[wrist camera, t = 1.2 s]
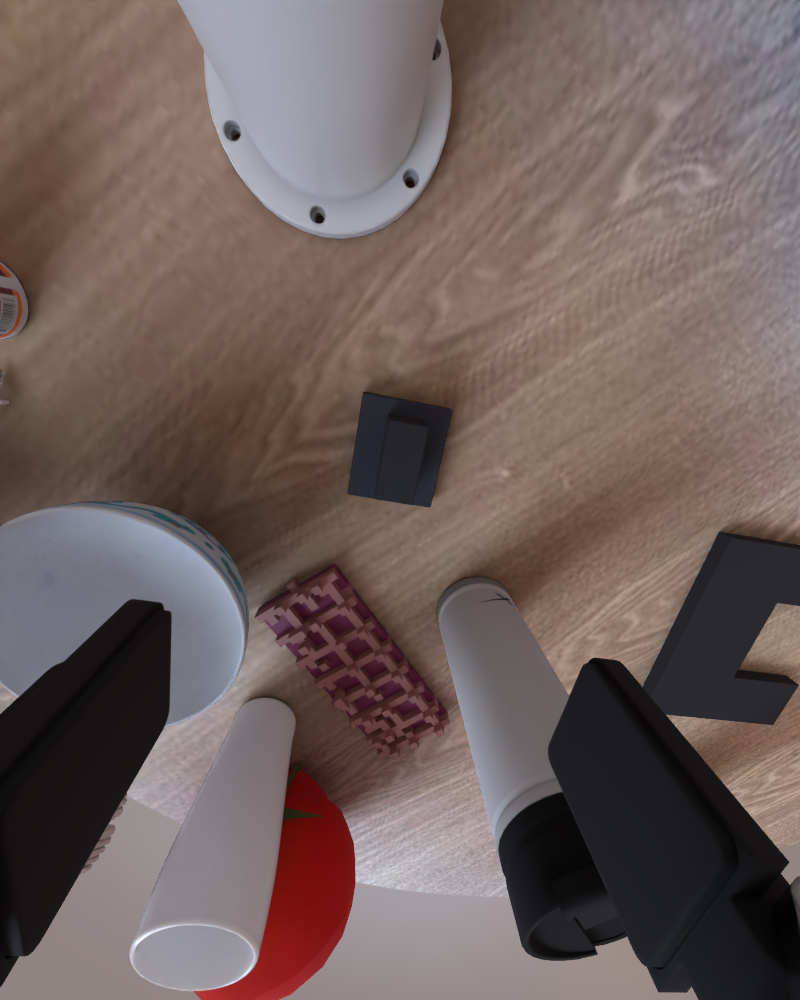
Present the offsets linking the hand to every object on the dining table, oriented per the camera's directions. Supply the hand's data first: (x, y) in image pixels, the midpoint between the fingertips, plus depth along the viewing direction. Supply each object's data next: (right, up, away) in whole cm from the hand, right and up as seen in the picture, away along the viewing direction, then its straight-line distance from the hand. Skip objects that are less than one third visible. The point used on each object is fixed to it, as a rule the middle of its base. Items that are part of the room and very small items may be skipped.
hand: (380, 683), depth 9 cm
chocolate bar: (-3, -10, +25) cm, 27 cm away
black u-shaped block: (+32, -8, +26) cm, 42 cm away
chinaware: (-16, -1, +20) cm, 26 cm away
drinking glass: (-11, -15, +26) cm, 32 cm away
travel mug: (+6, -5, +24) cm, 25 cm away
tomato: (-11, -34, +25) cm, 43 cm away
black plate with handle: (0, +8, +19) cm, 20 cm away
